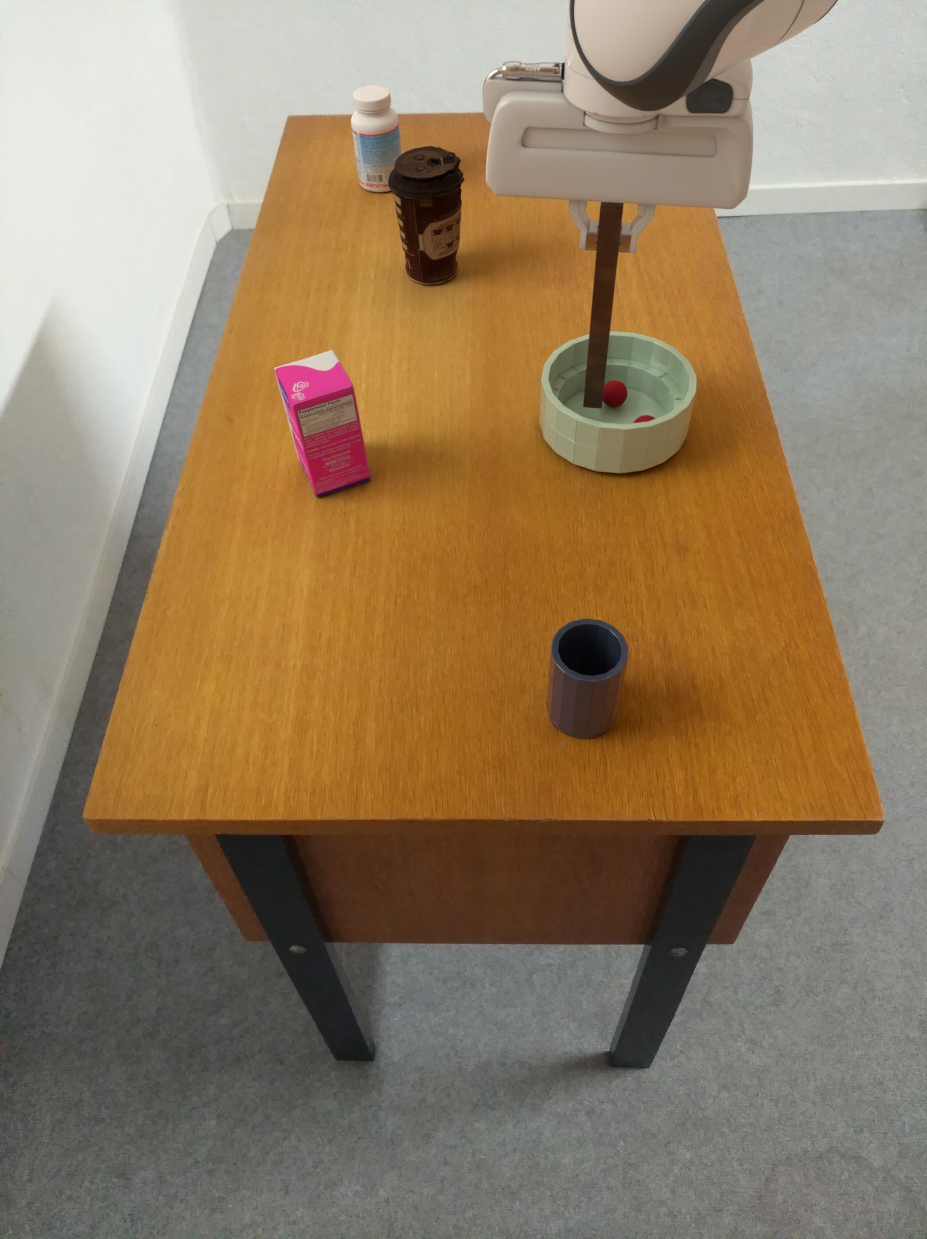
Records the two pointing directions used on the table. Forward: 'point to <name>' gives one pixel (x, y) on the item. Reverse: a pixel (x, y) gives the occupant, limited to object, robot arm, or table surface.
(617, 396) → the berry
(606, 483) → the table surface
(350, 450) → the supplement box
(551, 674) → the stick holder
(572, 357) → the bowl
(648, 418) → the berry
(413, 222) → the coffee cup
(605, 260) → the stirring stick
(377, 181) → the pill bottle
